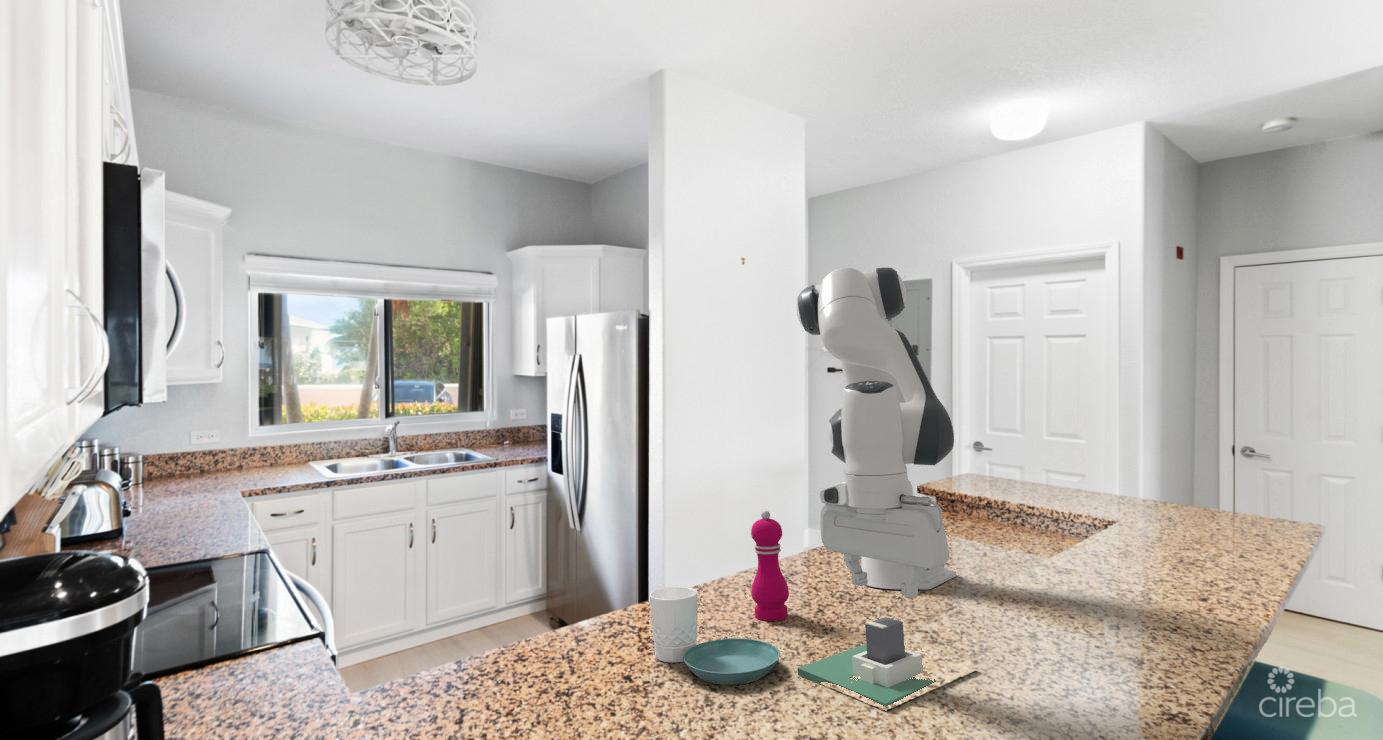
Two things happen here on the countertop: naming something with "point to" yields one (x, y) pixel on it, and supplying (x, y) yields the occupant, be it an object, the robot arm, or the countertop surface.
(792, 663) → the countertop surface
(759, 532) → the pepper mill
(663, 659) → the white cup
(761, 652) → the saucer
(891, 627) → the plug
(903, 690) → the board
